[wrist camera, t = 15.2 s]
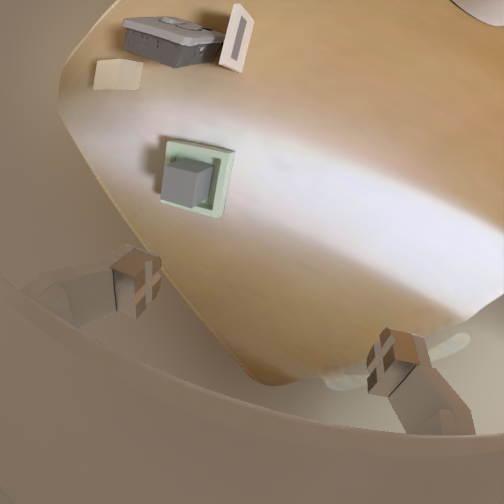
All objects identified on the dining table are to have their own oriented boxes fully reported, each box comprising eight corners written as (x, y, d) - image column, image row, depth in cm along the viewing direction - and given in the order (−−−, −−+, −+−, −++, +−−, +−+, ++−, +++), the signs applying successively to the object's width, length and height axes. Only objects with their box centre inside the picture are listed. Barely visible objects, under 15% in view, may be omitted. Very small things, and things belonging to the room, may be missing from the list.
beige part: (121, 63, 30) (97, 60, 25) (143, 62, 29) (120, 58, 25) (116, 89, 32) (92, 89, 27) (138, 90, 31) (114, 89, 27)
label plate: (249, 20, 24) (233, 3, 19) (255, 21, 24) (240, 3, 19) (236, 72, 28) (218, 63, 23) (242, 73, 28) (225, 64, 23)
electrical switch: (234, 38, 26) (198, 22, 18) (215, 73, 29) (174, 70, 21) (173, 17, 26) (127, 4, 18) (157, 50, 29) (109, 46, 21)
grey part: (184, 158, 33) (164, 165, 29) (214, 165, 33) (197, 173, 28) (180, 188, 35) (160, 199, 31) (208, 196, 35) (191, 208, 30)
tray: (175, 139, 33) (167, 141, 31) (235, 151, 32) (229, 153, 30) (168, 197, 37) (160, 202, 35) (223, 212, 36) (217, 218, 34)
